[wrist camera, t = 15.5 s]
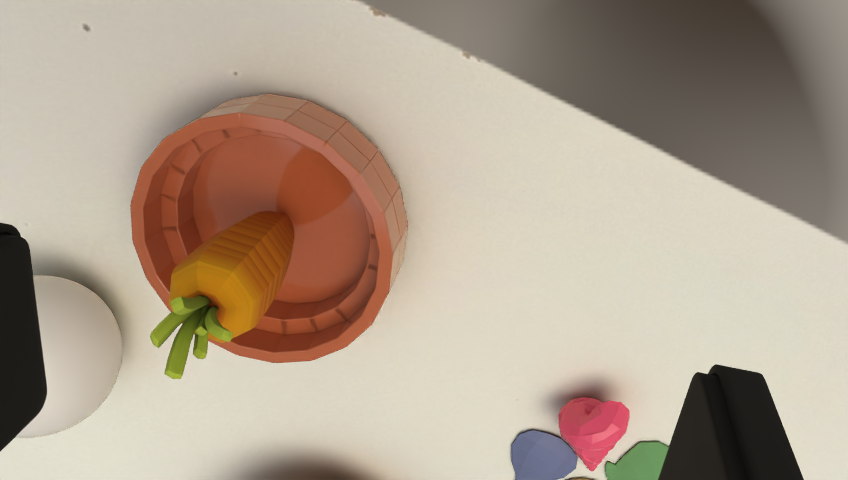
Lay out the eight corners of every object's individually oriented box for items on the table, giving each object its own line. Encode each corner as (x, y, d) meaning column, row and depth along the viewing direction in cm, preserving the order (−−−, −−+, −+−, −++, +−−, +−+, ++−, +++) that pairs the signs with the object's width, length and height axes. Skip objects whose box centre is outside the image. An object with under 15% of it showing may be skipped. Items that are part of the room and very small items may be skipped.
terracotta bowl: (167, 72, 45) (123, 92, 41) (423, 115, 43) (405, 141, 39) (175, 296, 52) (137, 334, 47) (395, 341, 50) (378, 385, 46)
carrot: (272, 165, 45) (145, 280, 32) (338, 214, 46) (241, 348, 33) (233, 222, 48) (99, 352, 34) (296, 269, 48) (189, 415, 35)
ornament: (32, 367, 57) (-93, 478, 46) (1, 245, 53) (-145, 336, 42) (158, 382, 55) (59, 500, 45) (136, 257, 51) (20, 355, 40)
